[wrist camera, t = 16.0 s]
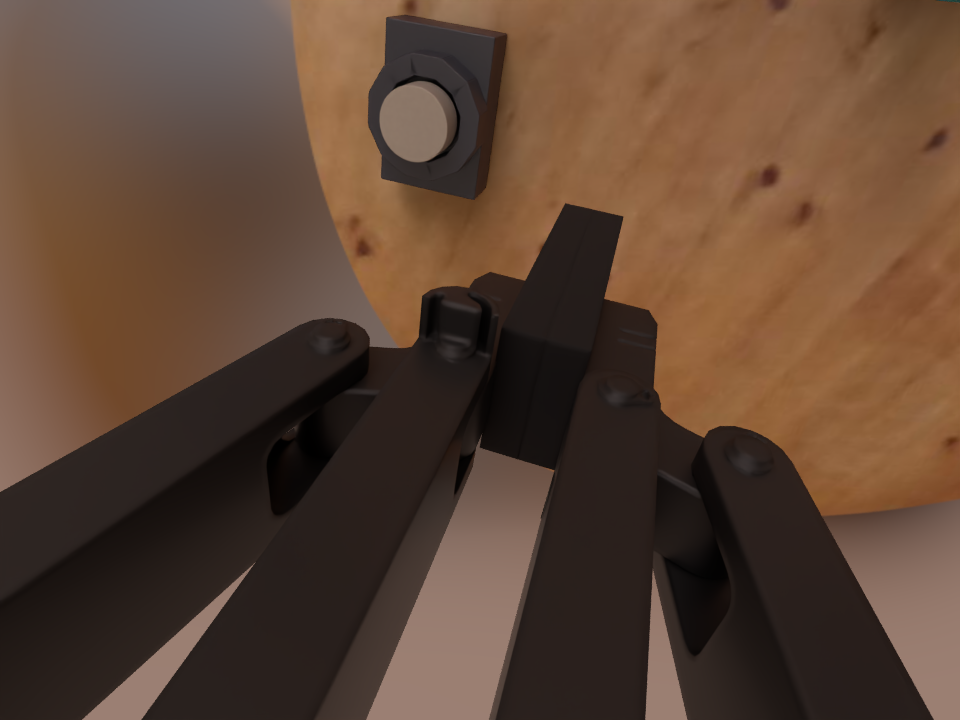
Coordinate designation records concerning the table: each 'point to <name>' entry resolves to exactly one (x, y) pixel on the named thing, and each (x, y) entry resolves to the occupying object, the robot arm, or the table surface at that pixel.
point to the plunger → (418, 121)
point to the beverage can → (950, 0)
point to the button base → (467, 81)
